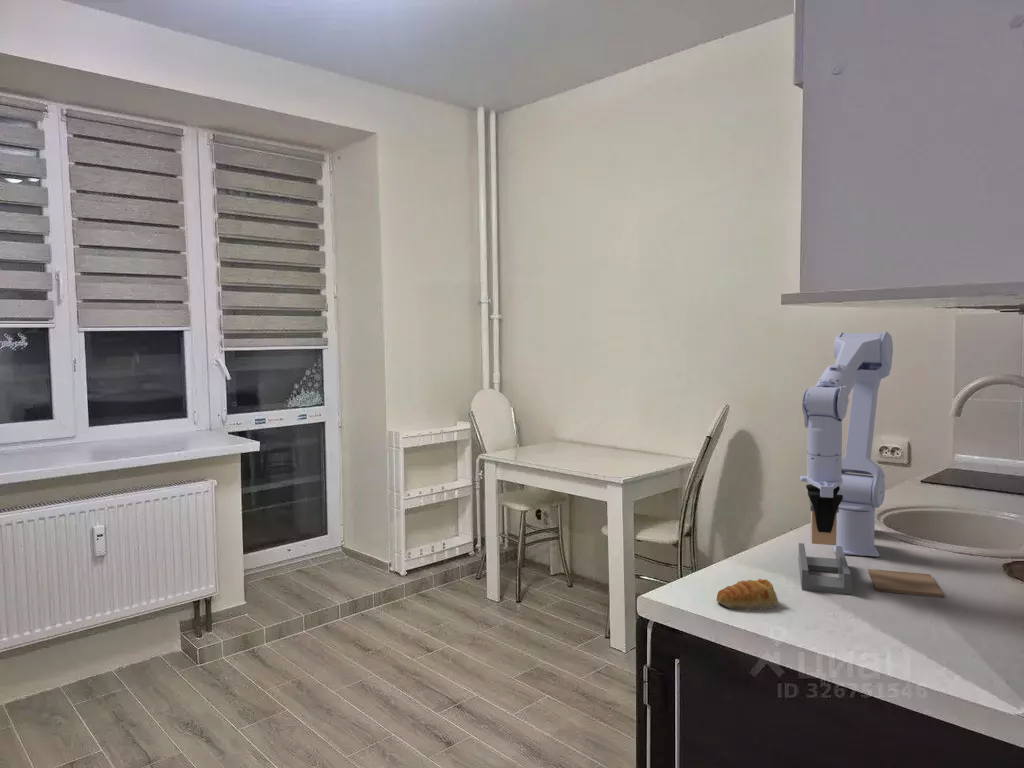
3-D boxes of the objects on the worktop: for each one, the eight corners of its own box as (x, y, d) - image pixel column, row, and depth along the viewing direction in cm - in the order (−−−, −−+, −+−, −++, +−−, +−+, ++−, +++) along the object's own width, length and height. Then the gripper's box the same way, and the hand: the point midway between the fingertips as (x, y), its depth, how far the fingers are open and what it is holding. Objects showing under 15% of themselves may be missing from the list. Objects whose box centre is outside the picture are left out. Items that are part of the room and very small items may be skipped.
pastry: (729, 615, 113) (729, 591, 112) (708, 599, 119) (708, 577, 119) (781, 608, 115) (781, 585, 114) (758, 594, 121) (758, 572, 121)
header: (798, 560, 137) (798, 543, 137) (841, 564, 134) (841, 546, 134) (801, 589, 122) (802, 569, 122) (850, 594, 120) (850, 574, 119)
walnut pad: (868, 571, 130) (868, 568, 130) (930, 576, 127) (930, 574, 127) (875, 590, 121) (875, 587, 121) (942, 597, 117) (942, 594, 117)
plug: (808, 536, 131) (809, 499, 130) (836, 538, 129) (836, 501, 129) (810, 543, 126) (810, 505, 126) (838, 546, 125) (838, 507, 124)
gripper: (798, 446, 135) (798, 516, 136) (801, 459, 121) (801, 537, 122) (839, 447, 132) (838, 518, 133) (847, 461, 119) (846, 540, 120)
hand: (823, 528), depth 128 cm, fingers closed on plug, 4 cm apart
